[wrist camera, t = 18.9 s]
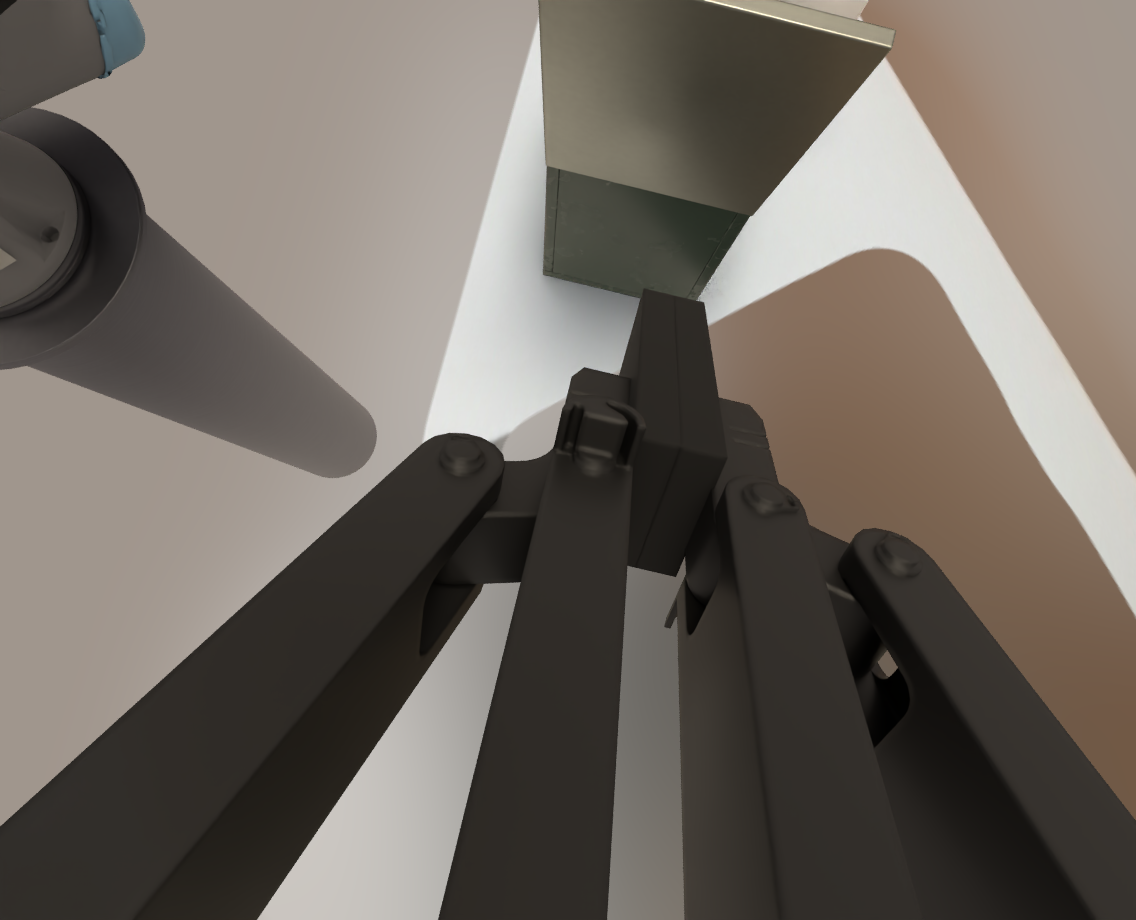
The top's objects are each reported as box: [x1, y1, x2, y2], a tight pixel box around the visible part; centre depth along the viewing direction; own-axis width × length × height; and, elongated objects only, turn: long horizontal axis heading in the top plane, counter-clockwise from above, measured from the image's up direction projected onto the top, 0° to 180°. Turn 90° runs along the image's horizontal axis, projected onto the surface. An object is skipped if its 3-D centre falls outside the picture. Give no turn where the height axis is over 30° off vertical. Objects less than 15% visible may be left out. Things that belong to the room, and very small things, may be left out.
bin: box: [543, 166, 750, 301], centre depth 46 cm, size 15×13×15 cm
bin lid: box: [538, 0, 896, 216], centre depth 29 cm, size 16×13×1 cm
